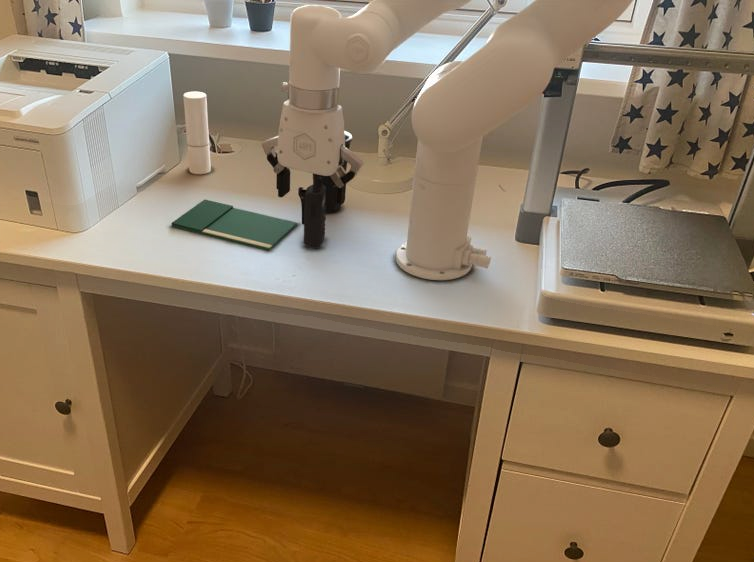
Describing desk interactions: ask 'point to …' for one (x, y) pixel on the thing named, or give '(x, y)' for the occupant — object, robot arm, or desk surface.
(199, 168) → the tube
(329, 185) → the drinking cup
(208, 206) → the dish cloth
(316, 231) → the two-way radio
